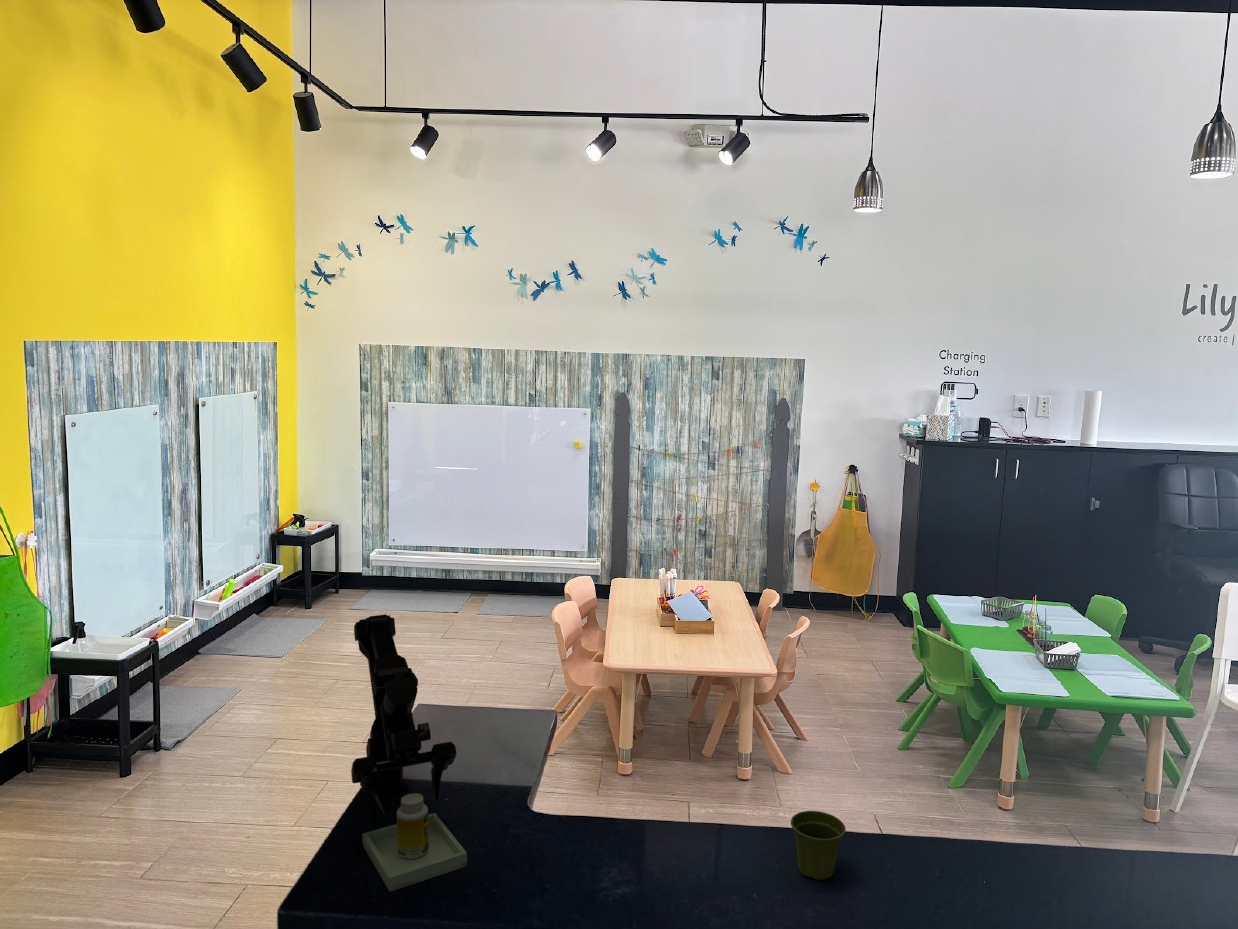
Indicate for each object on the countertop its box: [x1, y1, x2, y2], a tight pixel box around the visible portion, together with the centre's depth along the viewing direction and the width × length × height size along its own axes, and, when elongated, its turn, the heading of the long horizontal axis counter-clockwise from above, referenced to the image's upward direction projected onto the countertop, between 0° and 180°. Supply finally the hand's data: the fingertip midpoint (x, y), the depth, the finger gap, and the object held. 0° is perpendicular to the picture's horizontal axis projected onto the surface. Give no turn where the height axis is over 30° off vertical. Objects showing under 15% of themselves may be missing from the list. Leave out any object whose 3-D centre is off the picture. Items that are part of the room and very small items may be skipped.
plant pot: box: [790, 810, 847, 881], centre depth 151 cm, size 9×9×9 cm
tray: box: [362, 812, 468, 893], centre depth 155 cm, size 16×14×2 cm
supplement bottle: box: [396, 792, 429, 859], centre depth 155 cm, size 6×6×10 cm
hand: (411, 808), depth 156 cm, fingers open, 9 cm apart
